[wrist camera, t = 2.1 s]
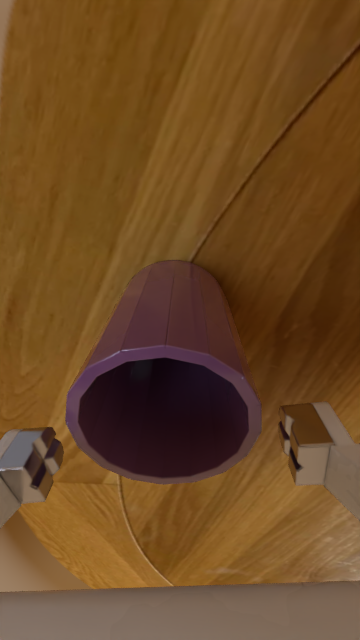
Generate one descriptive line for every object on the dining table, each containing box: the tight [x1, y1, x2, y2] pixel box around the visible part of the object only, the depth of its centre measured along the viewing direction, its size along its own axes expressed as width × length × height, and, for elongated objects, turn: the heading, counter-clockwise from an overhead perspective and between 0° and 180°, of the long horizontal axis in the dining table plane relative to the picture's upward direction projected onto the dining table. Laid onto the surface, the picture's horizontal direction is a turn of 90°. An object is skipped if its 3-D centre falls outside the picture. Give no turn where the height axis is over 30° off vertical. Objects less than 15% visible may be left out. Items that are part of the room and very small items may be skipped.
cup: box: [65, 260, 262, 484], centre depth 13 cm, size 7×7×9 cm
